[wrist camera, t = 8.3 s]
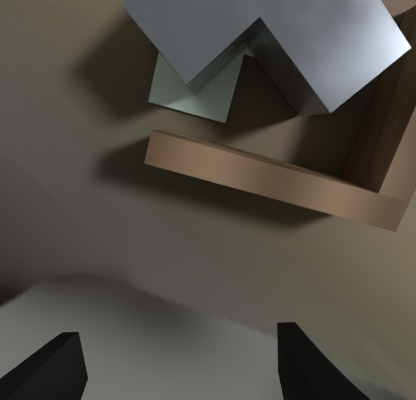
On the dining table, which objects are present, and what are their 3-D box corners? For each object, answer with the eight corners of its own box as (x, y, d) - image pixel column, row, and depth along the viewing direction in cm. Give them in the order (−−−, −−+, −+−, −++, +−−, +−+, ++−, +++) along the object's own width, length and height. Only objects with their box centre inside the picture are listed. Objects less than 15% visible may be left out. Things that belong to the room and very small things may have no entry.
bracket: (356, 69, 17) (411, 47, 12) (247, 159, 19) (258, 171, 14) (259, -71, 16) (278, -158, 11) (148, 39, 17) (122, 5, 12)
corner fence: (160, 154, 19) (144, 163, 15) (207, -49, 16) (204, -113, 12) (355, 207, 19) (395, 231, 15) (432, 19, 17) (509, -18, 12)
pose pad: (367, -9, 16) (369, -11, 16) (312, 147, 19) (313, 148, 18) (184, -65, 16) (183, -68, 16) (148, 101, 18) (148, 101, 18)
